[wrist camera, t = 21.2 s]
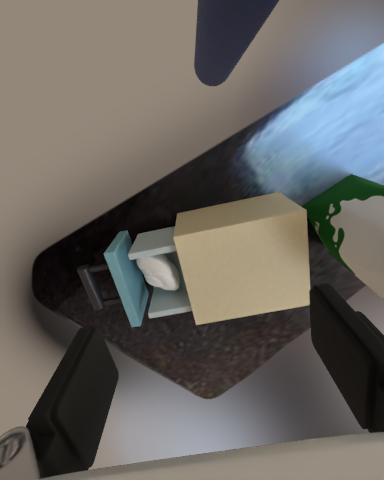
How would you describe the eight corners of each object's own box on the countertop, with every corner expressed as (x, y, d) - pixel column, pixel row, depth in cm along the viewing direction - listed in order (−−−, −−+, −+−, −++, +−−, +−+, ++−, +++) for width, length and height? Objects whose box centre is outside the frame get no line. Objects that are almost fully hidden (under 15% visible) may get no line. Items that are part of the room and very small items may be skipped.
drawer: (109, 301, 39) (93, 334, 32) (84, 239, 35) (60, 262, 28) (224, 280, 37) (231, 309, 31) (211, 212, 33) (215, 230, 27)
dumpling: (187, 267, 35) (185, 295, 33) (152, 269, 37) (148, 296, 34) (169, 240, 30) (165, 271, 27) (129, 244, 31) (122, 274, 29)
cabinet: (194, 285, 39) (196, 325, 31) (176, 213, 34) (173, 237, 26) (285, 268, 38) (311, 305, 30) (279, 191, 33) (306, 209, 25)
